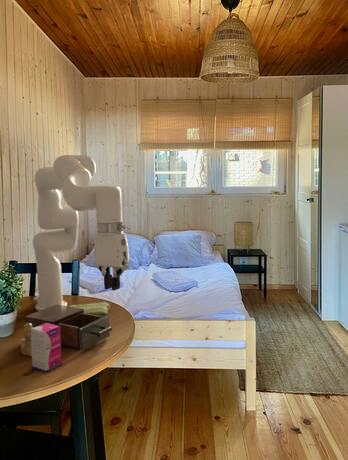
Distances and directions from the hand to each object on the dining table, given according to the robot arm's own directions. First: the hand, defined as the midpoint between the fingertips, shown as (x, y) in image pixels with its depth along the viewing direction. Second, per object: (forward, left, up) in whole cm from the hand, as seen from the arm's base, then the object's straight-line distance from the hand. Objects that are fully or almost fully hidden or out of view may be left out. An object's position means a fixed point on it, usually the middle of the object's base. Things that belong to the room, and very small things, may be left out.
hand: (112, 288), depth 126 cm
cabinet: (-24, 0, -19) cm, 31 cm away
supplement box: (-10, -18, -19) cm, 28 cm away
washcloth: (-30, +22, -19) cm, 42 cm away
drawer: (-11, 0, -18) cm, 21 cm away
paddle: (-21, -14, -19) cm, 32 cm away
